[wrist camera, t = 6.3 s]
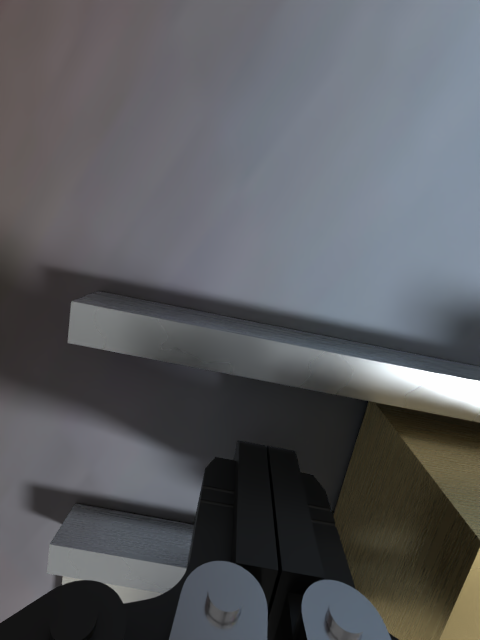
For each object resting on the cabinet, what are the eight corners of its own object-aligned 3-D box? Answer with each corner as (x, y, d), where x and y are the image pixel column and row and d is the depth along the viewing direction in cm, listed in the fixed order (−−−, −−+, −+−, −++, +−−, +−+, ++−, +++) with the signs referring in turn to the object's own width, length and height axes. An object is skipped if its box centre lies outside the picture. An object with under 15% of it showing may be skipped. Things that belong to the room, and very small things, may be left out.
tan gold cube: (370, 396, 10) (481, 542, 5) (542, 429, 10) (800, 600, 5) (298, 627, 12) (332, 882, 7) (442, 651, 12) (567, 916, 7)
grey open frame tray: (97, 290, 9) (-137, 382, 4) (697, 409, 10) (1324, 653, 4) (64, 604, 12) (-106, 953, 6) (544, 685, 13) (802, 1075, 7)
